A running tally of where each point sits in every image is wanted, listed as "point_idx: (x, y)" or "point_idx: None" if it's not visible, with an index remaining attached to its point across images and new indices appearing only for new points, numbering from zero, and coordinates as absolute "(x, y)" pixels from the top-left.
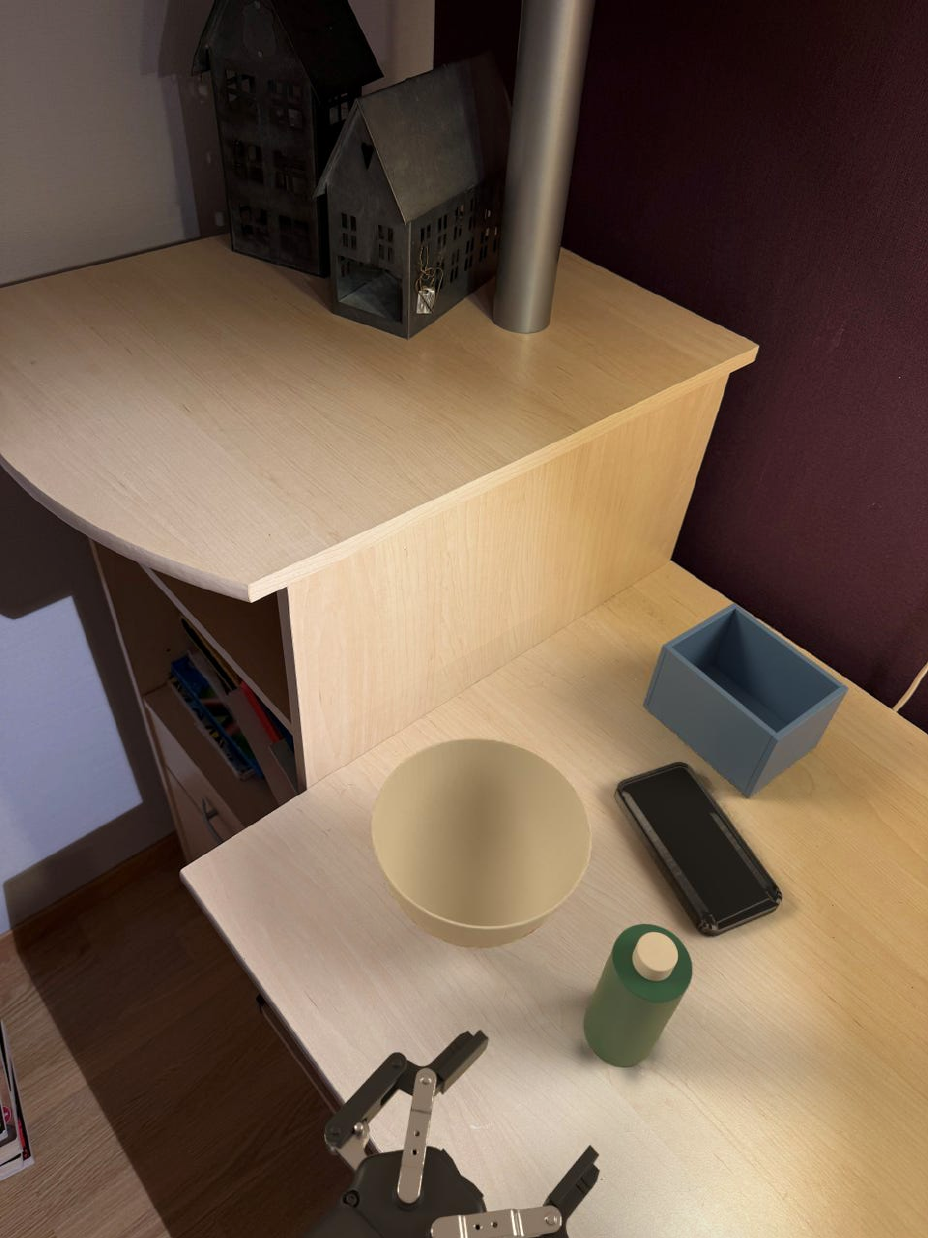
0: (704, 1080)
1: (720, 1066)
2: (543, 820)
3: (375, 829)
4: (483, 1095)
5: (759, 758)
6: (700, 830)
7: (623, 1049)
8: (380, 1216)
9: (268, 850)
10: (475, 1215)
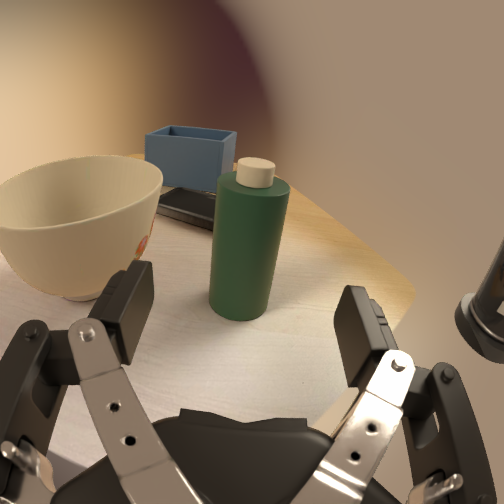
0: (305, 296)
1: (306, 285)
2: (115, 205)
3: None
4: (174, 393)
5: (217, 161)
6: (207, 203)
7: (257, 291)
8: None
9: None
10: (335, 446)
